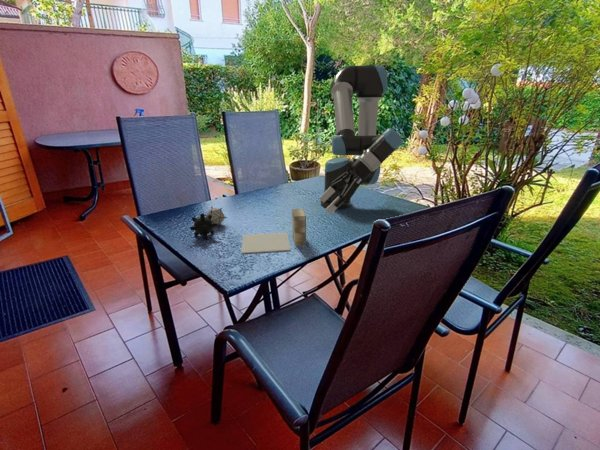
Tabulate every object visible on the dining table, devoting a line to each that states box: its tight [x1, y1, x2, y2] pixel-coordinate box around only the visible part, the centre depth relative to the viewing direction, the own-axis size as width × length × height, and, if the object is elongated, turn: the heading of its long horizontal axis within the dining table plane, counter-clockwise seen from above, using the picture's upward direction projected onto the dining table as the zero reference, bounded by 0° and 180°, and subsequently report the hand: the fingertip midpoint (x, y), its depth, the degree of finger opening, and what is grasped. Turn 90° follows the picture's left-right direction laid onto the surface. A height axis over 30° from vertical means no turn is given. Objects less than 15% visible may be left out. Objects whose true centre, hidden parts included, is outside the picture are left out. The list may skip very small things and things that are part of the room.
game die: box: [204, 206, 228, 227], centre depth 148 cm, size 9×8×10 cm
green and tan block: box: [291, 208, 307, 247], centre depth 131 cm, size 4×8×12 cm, turn 7°
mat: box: [240, 232, 292, 255], centre depth 132 cm, size 18×16×1 cm
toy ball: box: [189, 213, 218, 241], centre depth 137 cm, size 11×11×12 cm
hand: (324, 205), depth 129 cm, fingers open, 13 cm apart
